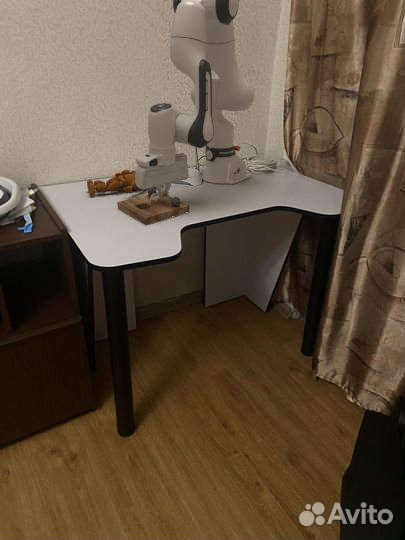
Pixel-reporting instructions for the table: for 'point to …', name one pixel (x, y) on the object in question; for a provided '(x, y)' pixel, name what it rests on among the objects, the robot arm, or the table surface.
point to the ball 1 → (151, 191)
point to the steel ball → (154, 198)
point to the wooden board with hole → (151, 208)
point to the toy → (114, 183)
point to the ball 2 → (175, 201)
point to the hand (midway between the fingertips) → (163, 196)
